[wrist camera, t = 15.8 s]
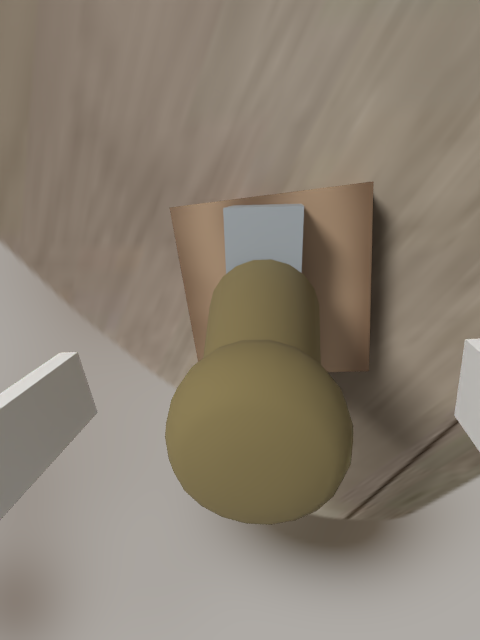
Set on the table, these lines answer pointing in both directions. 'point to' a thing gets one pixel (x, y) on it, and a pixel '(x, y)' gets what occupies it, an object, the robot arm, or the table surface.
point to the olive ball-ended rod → (260, 403)
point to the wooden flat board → (317, 264)
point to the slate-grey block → (263, 234)
